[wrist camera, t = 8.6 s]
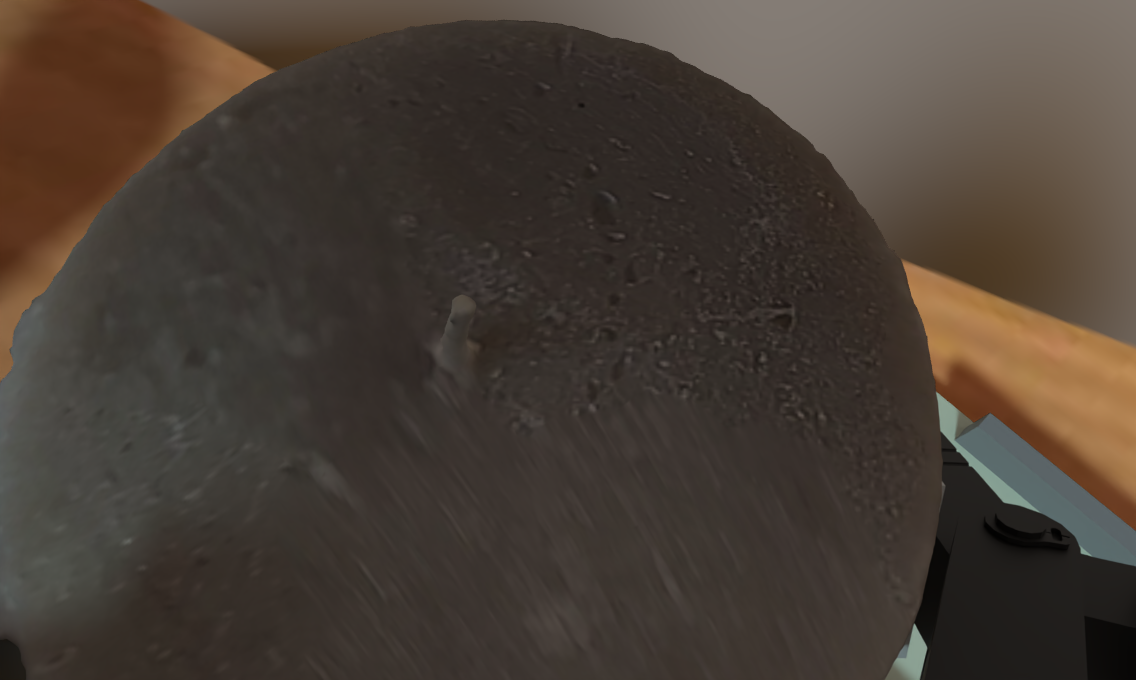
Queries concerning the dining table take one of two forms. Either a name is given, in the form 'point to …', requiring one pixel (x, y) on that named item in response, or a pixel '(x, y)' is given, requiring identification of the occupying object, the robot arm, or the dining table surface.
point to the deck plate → (1025, 500)
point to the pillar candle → (473, 387)
